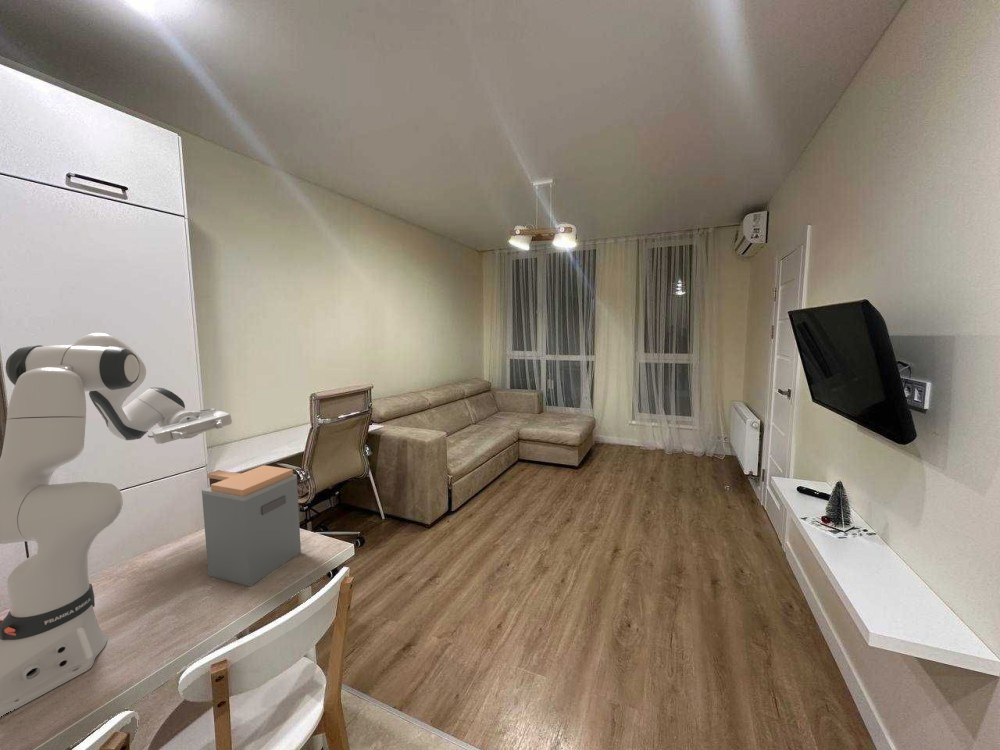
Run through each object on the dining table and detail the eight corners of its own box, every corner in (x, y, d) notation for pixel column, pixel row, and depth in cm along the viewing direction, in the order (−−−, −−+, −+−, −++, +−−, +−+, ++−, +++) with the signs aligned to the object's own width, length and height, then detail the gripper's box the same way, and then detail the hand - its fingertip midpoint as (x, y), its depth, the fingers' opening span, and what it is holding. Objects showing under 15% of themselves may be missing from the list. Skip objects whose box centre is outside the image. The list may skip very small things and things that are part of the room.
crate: (251, 586, 108) (245, 497, 105) (208, 575, 113) (201, 490, 110) (301, 552, 125) (297, 474, 122) (262, 543, 130) (258, 469, 127)
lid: (242, 496, 106) (242, 490, 106) (183, 485, 113) (183, 480, 113) (293, 474, 122) (292, 469, 122) (238, 466, 129) (238, 461, 129)
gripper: (143, 425, 119) (157, 432, 111) (219, 407, 135) (236, 411, 127) (148, 444, 120) (163, 452, 112) (223, 424, 136) (240, 429, 129)
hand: (202, 430), depth 120 cm, fingers open, 8 cm apart
